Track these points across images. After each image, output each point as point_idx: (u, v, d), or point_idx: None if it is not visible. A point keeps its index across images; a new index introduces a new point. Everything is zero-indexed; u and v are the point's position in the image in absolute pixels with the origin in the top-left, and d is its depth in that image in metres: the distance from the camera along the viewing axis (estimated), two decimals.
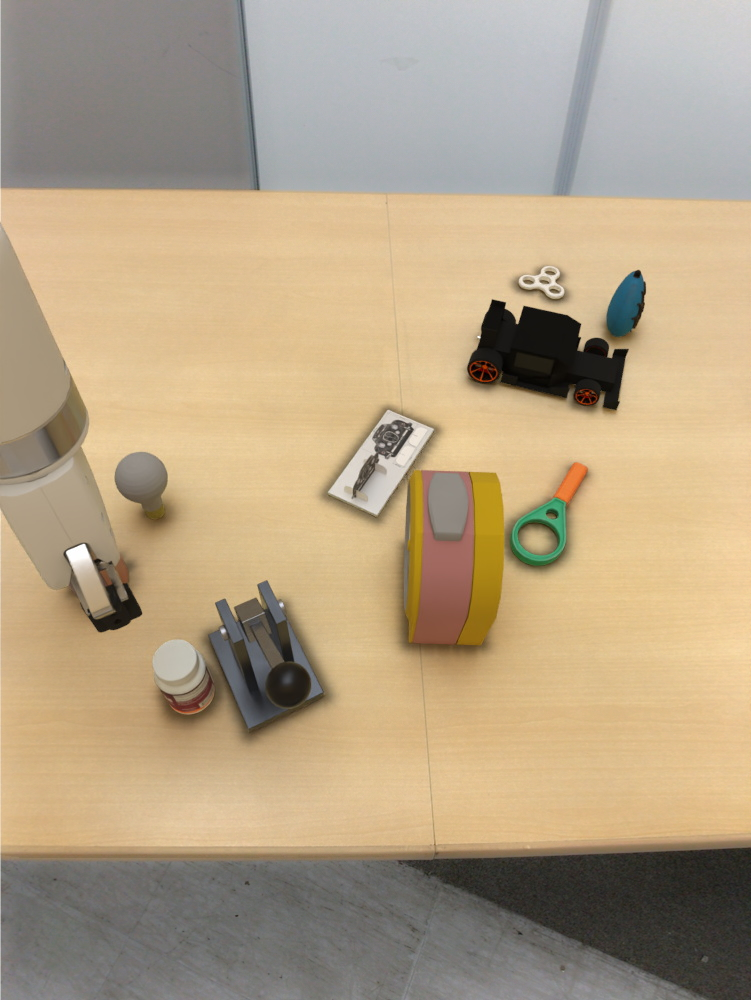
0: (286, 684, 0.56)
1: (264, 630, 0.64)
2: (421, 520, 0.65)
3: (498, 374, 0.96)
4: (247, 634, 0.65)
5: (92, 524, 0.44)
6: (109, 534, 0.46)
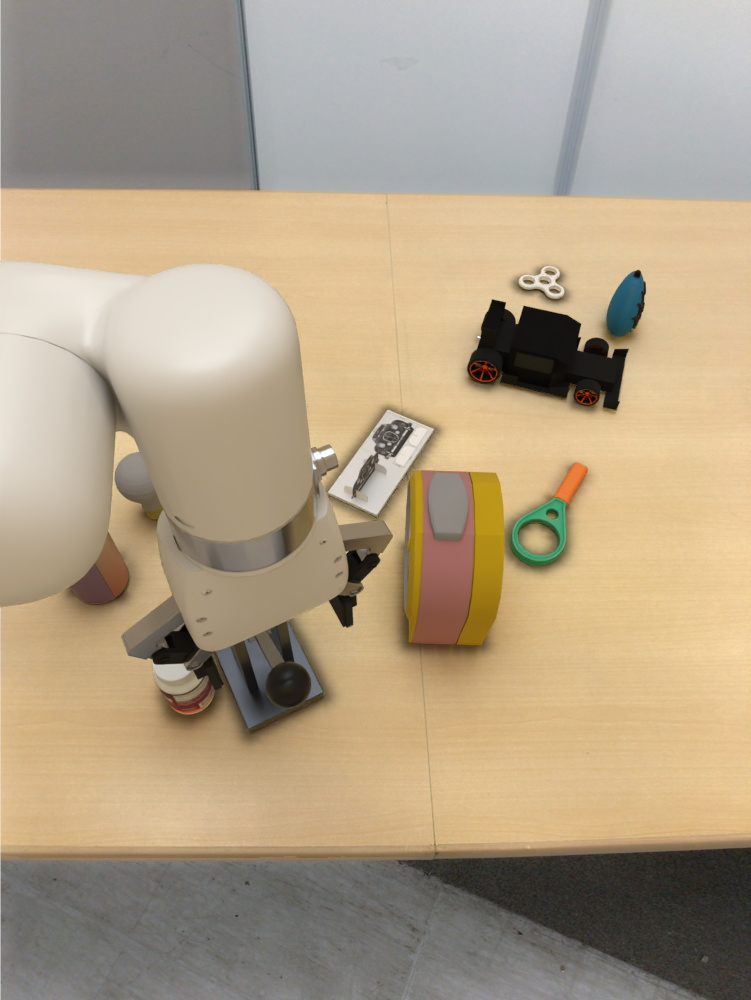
0: (286, 684, 0.56)
1: None
2: (421, 520, 0.65)
3: (498, 374, 0.96)
4: None
5: (184, 611, 0.40)
6: (198, 632, 0.41)
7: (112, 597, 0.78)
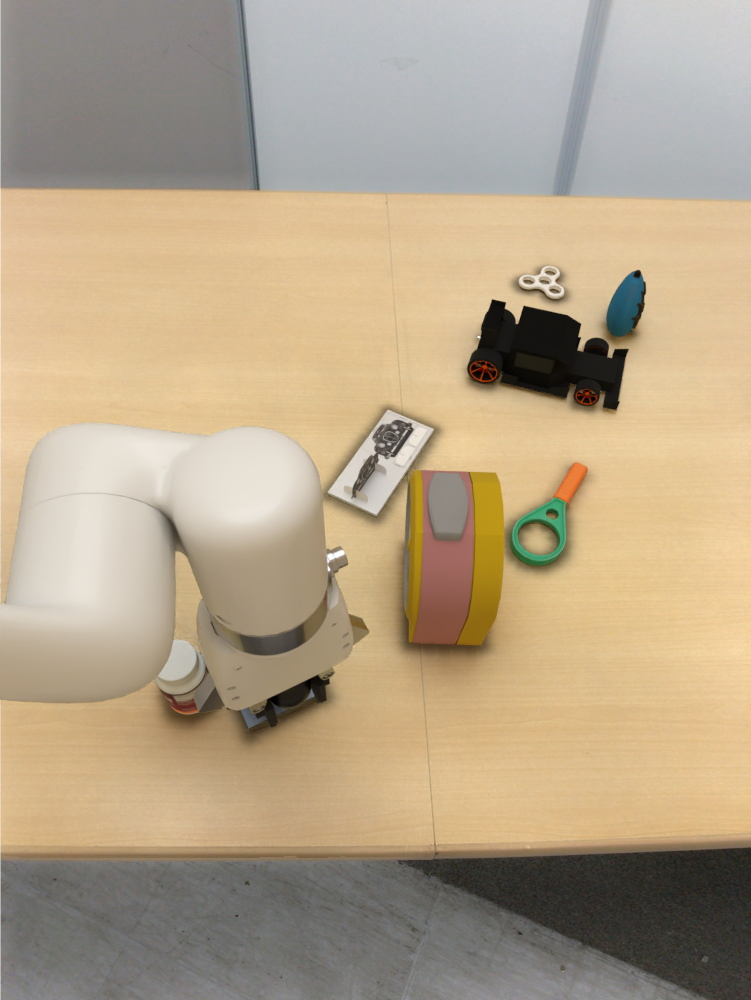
0: None
1: None
2: (421, 520, 0.65)
3: (498, 374, 0.96)
4: None
5: (217, 681, 0.48)
6: (228, 697, 0.49)
7: None
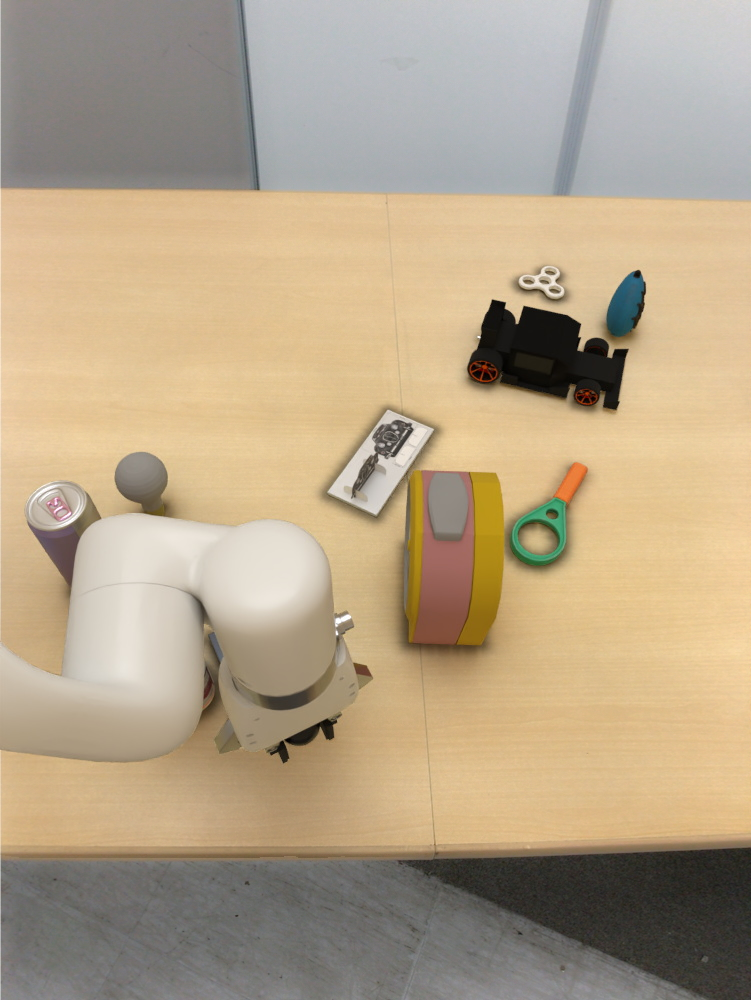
0: (303, 738, 0.62)
1: None
2: (421, 521, 0.65)
3: (498, 374, 0.96)
4: None
5: (237, 729, 0.54)
6: (246, 742, 0.55)
7: None
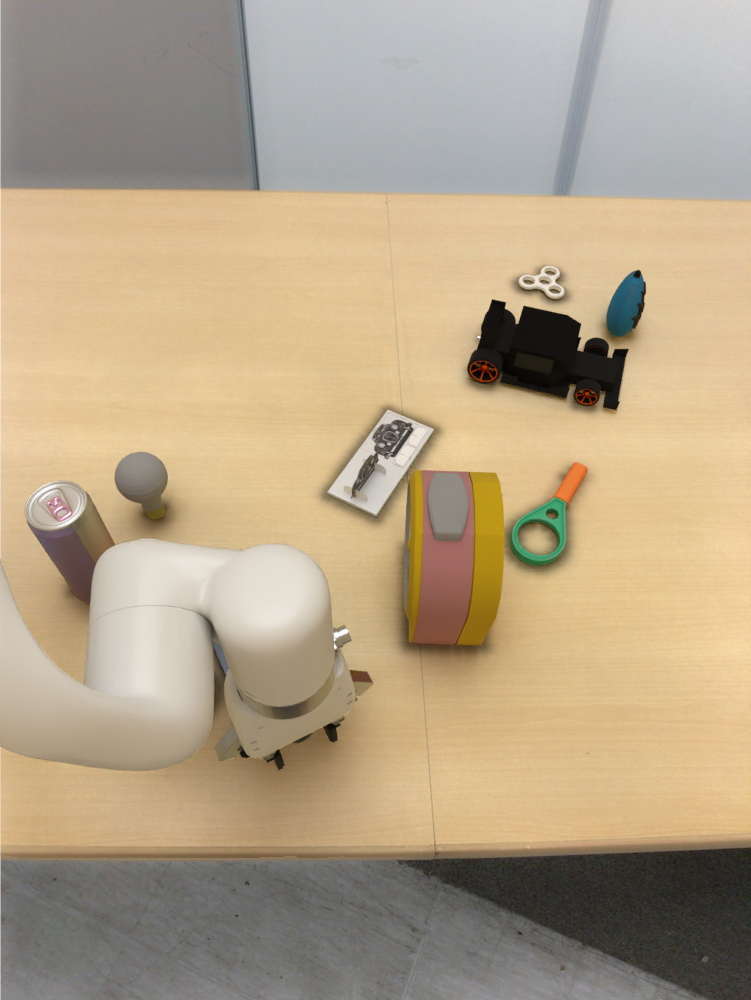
0: (301, 739, 0.65)
1: None
2: (421, 521, 0.65)
3: (498, 374, 0.96)
4: None
5: (241, 736, 0.57)
6: (250, 749, 0.58)
7: None
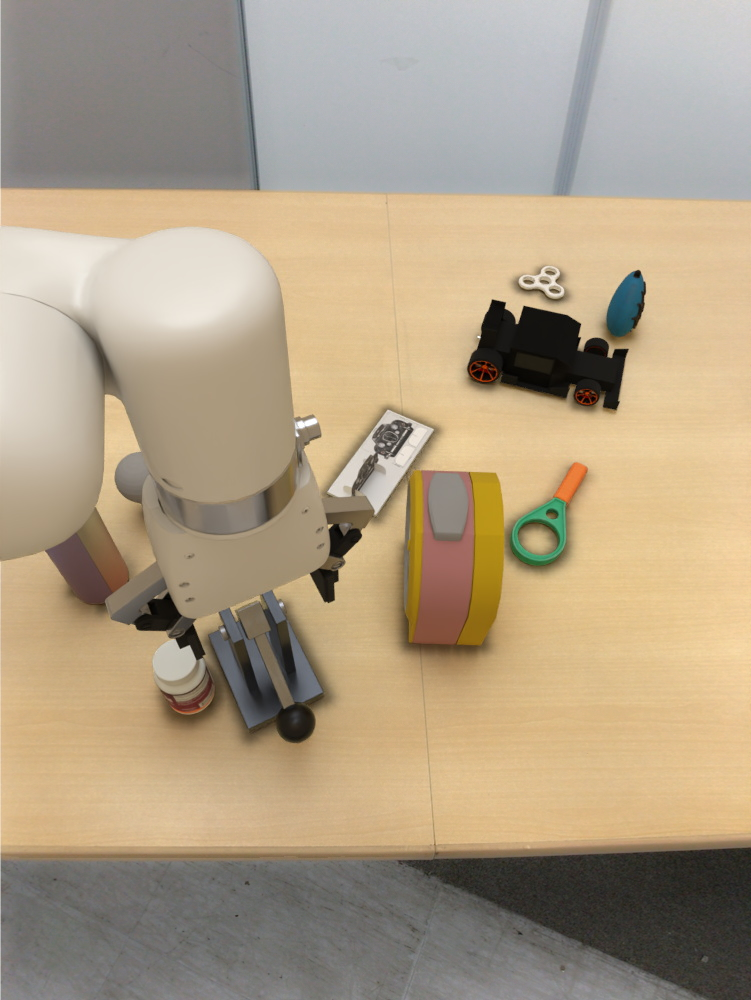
0: (301, 739, 0.65)
1: (269, 647, 0.66)
2: (421, 521, 0.65)
3: (498, 374, 0.96)
4: None
5: (167, 575, 0.41)
6: (181, 597, 0.42)
7: None
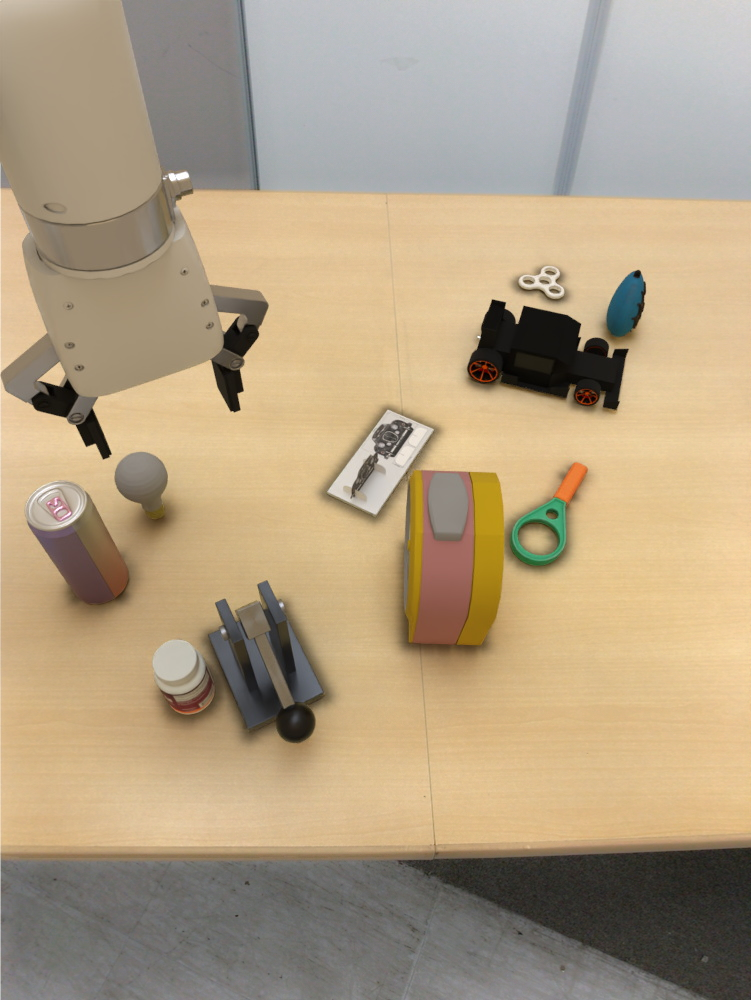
0: (301, 739, 0.65)
1: (269, 647, 0.66)
2: (421, 520, 0.65)
3: (498, 374, 0.96)
4: None
5: (52, 335, 0.43)
6: (69, 363, 0.44)
7: (112, 597, 0.78)
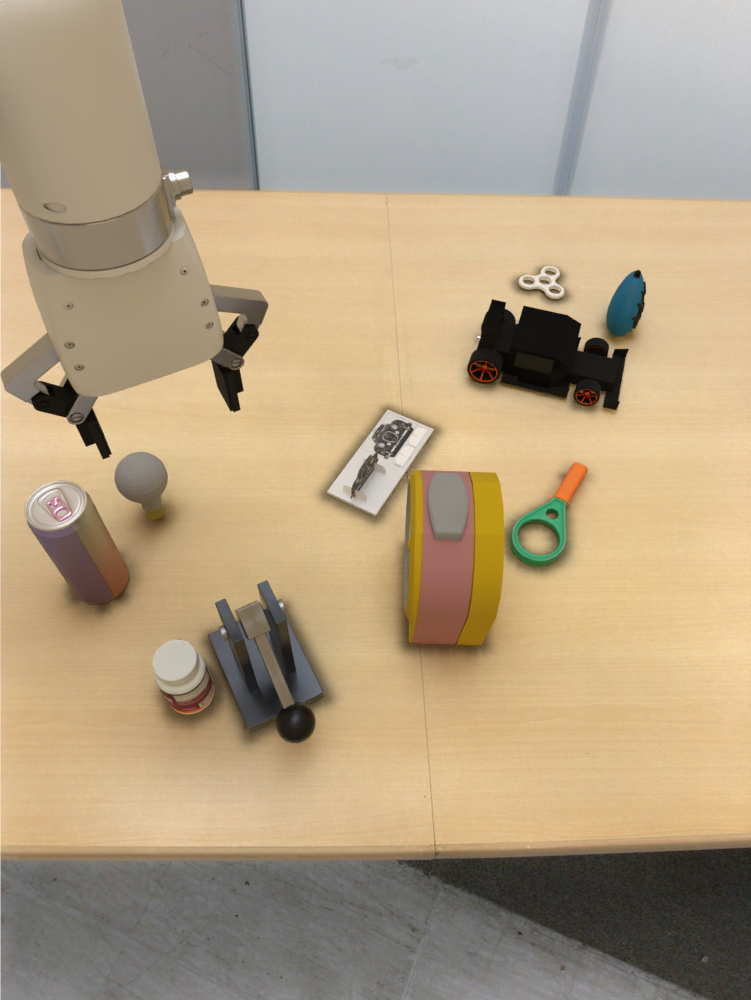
0: (301, 739, 0.65)
1: (269, 647, 0.66)
2: (421, 520, 0.65)
3: (498, 374, 0.96)
4: None
5: (52, 335, 0.43)
6: (69, 363, 0.44)
7: (112, 597, 0.78)
